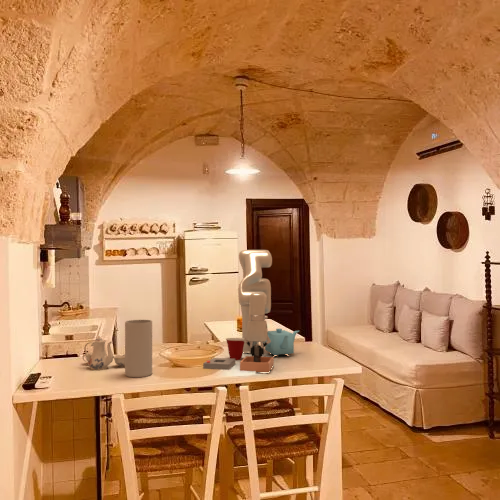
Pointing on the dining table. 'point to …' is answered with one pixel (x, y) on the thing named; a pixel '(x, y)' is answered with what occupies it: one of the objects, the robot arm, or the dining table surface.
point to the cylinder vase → (138, 348)
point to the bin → (257, 364)
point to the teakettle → (281, 342)
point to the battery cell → (257, 353)
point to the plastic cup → (235, 347)
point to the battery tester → (219, 363)
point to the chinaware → (102, 355)
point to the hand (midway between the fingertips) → (257, 355)
